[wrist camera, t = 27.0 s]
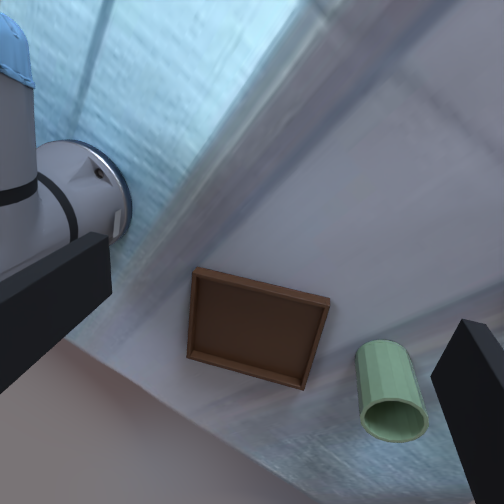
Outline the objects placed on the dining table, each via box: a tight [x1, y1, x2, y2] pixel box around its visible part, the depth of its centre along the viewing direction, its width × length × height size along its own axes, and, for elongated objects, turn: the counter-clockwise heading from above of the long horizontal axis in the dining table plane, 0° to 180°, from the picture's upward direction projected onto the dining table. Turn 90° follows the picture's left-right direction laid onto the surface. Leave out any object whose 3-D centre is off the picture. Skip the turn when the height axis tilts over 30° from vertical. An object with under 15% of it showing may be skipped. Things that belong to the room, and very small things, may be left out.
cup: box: [355, 340, 429, 443], centre depth 42 cm, size 7×7×10 cm
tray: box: [186, 267, 330, 391], centre depth 49 cm, size 19×16×2 cm
